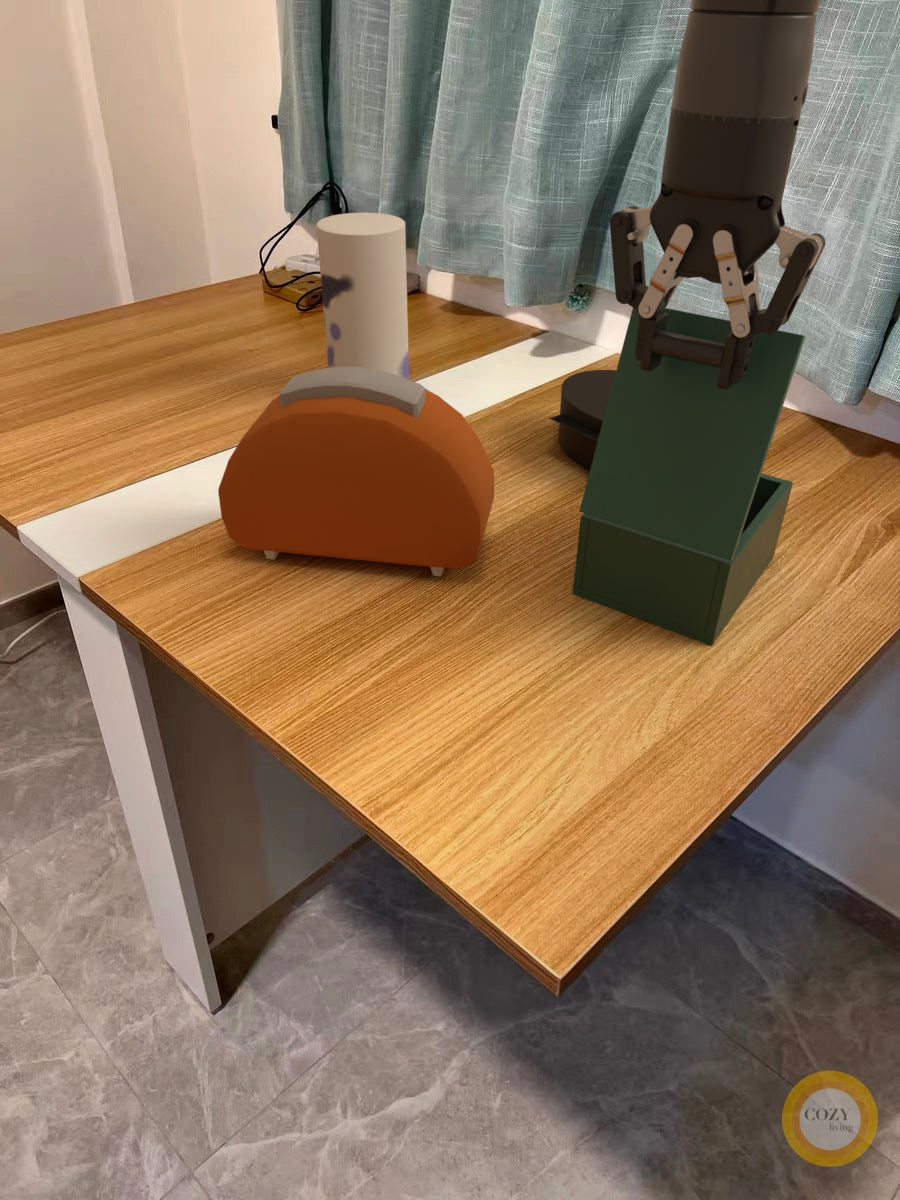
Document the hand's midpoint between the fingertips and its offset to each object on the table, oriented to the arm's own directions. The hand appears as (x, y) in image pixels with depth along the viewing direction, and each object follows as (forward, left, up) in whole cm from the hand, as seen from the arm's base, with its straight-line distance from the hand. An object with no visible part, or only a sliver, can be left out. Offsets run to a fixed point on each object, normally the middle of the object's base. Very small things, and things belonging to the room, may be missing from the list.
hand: (688, 375), depth 63 cm
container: (+48, -23, -21) cm, 57 cm away
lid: (0, -2, -5) cm, 5 cm away
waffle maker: (+14, -25, -21) cm, 35 cm away
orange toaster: (+26, +6, -21) cm, 34 cm away
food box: (0, -6, -21) cm, 21 cm away
